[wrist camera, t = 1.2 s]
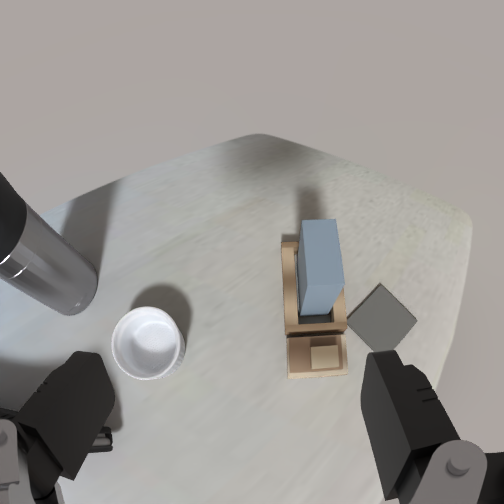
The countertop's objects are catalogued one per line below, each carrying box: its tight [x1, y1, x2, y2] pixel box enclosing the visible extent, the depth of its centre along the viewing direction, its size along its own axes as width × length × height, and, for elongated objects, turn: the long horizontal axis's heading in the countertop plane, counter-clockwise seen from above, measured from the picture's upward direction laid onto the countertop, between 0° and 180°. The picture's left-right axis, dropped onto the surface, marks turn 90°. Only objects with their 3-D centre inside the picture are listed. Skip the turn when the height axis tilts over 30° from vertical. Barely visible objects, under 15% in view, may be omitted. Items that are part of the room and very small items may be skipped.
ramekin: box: [111, 306, 185, 380], centre depth 36 cm, size 9×9×4 cm
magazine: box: [0, 408, 113, 453], centre depth 29 cm, size 17×3×30 cm
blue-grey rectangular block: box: [297, 219, 345, 316], centre depth 35 cm, size 7×4×11 cm, turn 1°
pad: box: [347, 285, 417, 352], centre depth 37 cm, size 7×7×1 cm
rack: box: [281, 242, 348, 379], centre depth 37 cm, size 17×7×4 cm, turn 1°
